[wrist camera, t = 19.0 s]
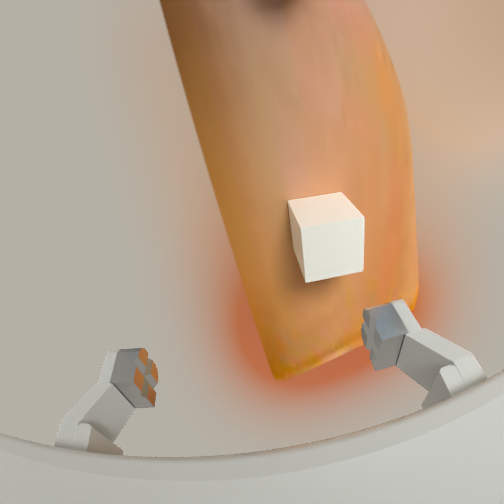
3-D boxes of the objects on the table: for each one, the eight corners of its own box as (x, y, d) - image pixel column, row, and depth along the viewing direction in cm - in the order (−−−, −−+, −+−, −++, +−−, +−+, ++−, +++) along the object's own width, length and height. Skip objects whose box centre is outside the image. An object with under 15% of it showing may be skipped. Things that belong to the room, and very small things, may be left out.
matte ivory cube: (287, 200, 37) (300, 228, 31) (341, 191, 37) (364, 216, 31) (293, 248, 41) (305, 282, 35) (343, 239, 41) (363, 271, 34)
